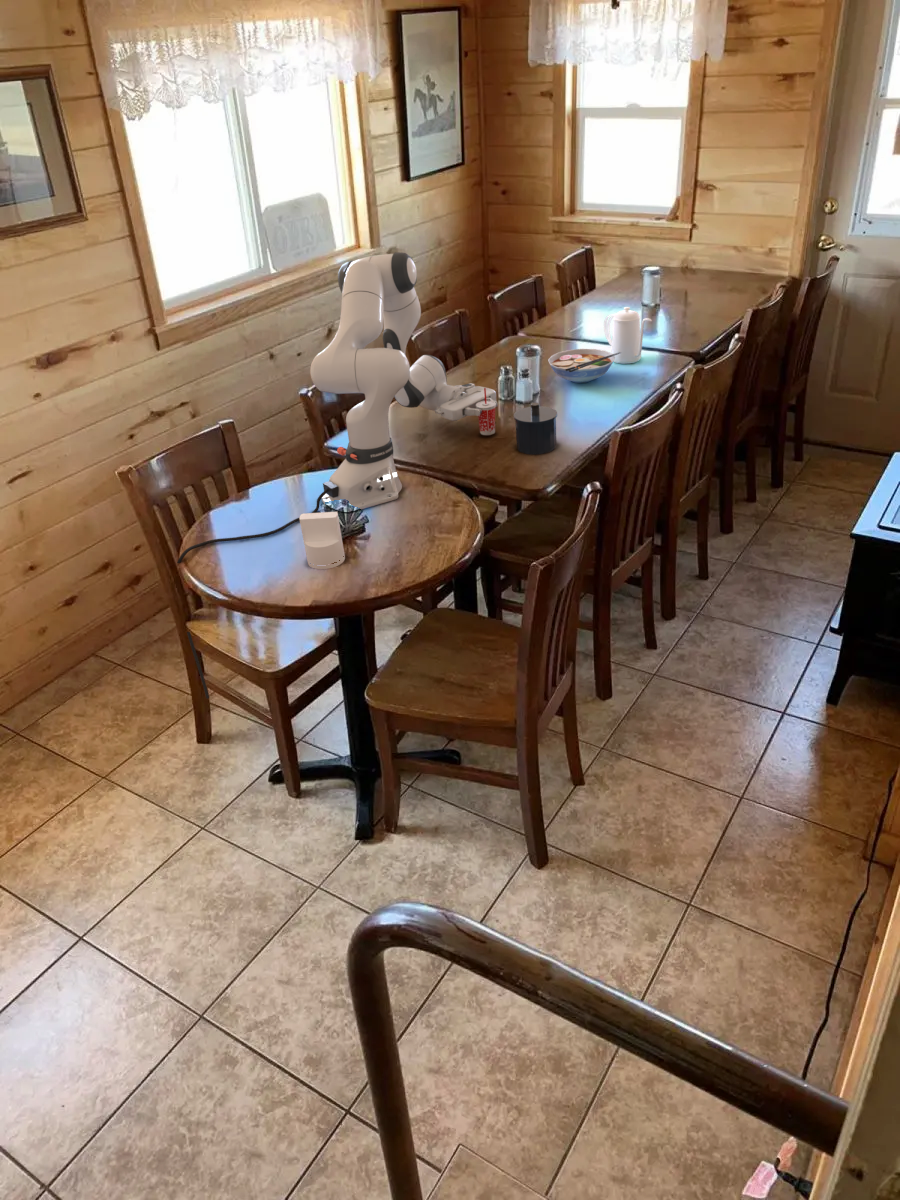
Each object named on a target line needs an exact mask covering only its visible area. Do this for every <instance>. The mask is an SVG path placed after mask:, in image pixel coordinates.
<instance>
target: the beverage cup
mask: <svg viewBox="0 0 900 1200" xmlns="http://www.w3.org/2000/svg"><path fill="white" fill-rule="evenodd" d="M486 388H487V387H485V388H484V395H485V401H481V402H478V403H477V404H476V408H479V409H482V414H481V415H479V416H477V419H478V420H477V421H478V427H479V434H480V435H482V436H491V435H494V434H495V433H496V408H497V407H496V403H495V402H493V401H486ZM495 407H496V408H495Z"/></svg>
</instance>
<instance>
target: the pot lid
mask: <svg viewBox="0 0 900 1200" xmlns="http://www.w3.org/2000/svg"><path fill="white" fill-rule="evenodd" d="M557 417H558V411H557V410H556V409H555V408H552V407H549V406H545V405H543V406H541V405H540V403H539V402H531V403H530V406H527V407H523V408H520V409H518V410H516V411H515V412H514V413H513V419H514V420H516V421H518V422H520V423H525V424H540V423H546V422H549V421H552V420H554V419H555V418H556V419H557ZM516 421H515V422H516Z"/></svg>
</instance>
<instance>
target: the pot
mask: <svg viewBox="0 0 900 1200" xmlns="http://www.w3.org/2000/svg"><path fill="white" fill-rule="evenodd" d="M514 420H515V419H514ZM514 422H515V439H516V442H515V443H516V449H517V451H518V452H520V453H522V454H526V455H543V454H544V455H545V454H549V453H550V452H552V451H554V450H556V448H557V417H556V418H555V419H554V420H552V421H549V422H546V423H540V424H525V423H520V422H518V421H516V420H515V421H514Z"/></svg>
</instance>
